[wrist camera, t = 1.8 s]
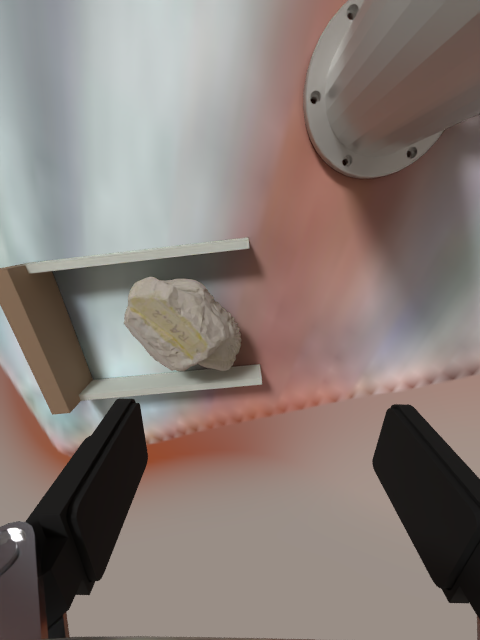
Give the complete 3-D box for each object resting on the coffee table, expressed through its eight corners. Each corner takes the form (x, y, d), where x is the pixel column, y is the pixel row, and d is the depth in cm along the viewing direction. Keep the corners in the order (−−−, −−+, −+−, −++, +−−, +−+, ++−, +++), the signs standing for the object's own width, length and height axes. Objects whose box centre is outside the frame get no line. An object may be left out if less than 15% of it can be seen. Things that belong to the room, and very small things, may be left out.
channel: (247, 237, 26) (249, 240, 21) (260, 369, 31) (263, 395, 26) (29, 262, 27) (-16, 271, 22) (79, 386, 32) (52, 414, 27)
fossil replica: (224, 368, 31) (254, 295, 29) (227, 413, 24) (270, 317, 21) (125, 339, 29) (149, 256, 26) (93, 377, 21) (123, 264, 19)
